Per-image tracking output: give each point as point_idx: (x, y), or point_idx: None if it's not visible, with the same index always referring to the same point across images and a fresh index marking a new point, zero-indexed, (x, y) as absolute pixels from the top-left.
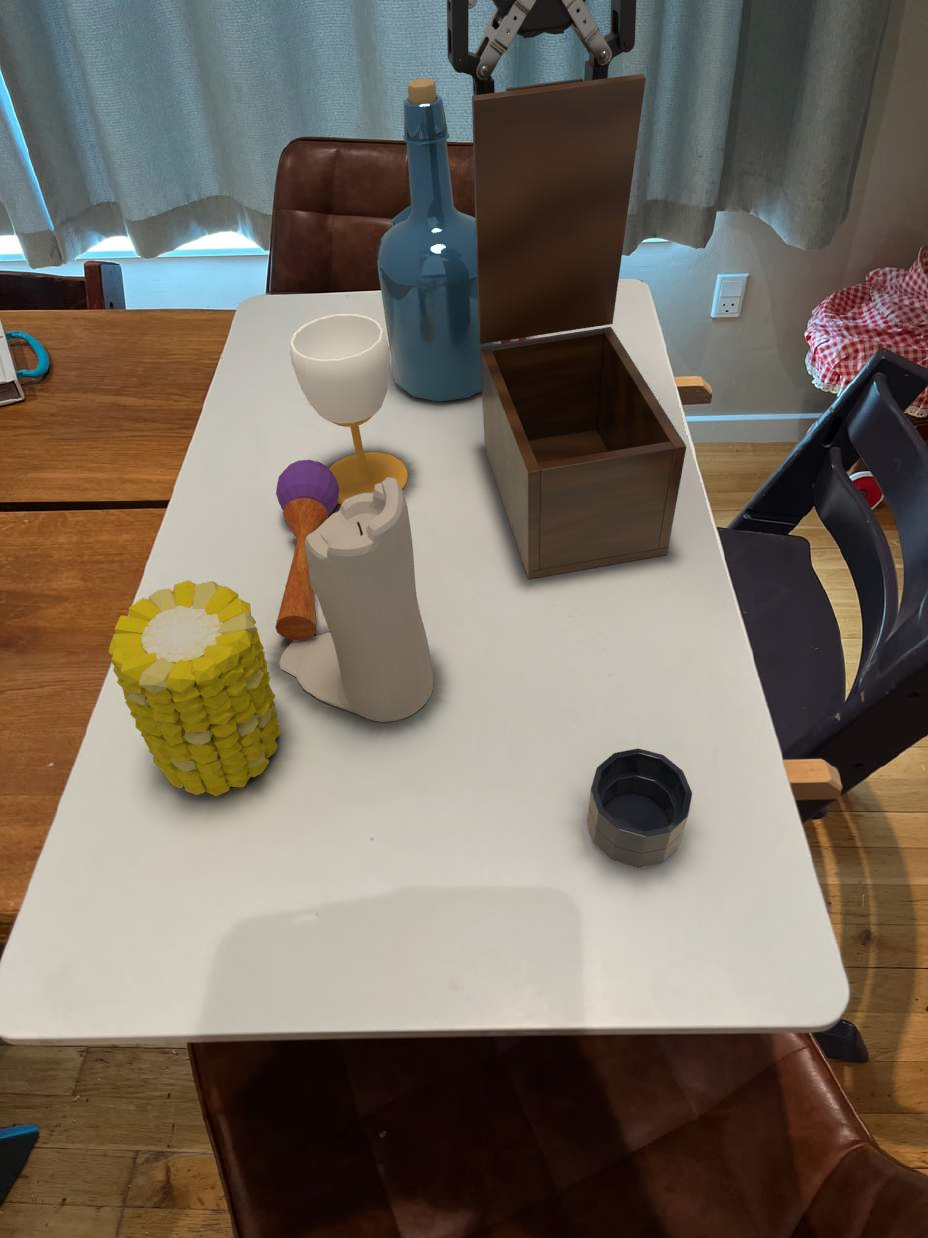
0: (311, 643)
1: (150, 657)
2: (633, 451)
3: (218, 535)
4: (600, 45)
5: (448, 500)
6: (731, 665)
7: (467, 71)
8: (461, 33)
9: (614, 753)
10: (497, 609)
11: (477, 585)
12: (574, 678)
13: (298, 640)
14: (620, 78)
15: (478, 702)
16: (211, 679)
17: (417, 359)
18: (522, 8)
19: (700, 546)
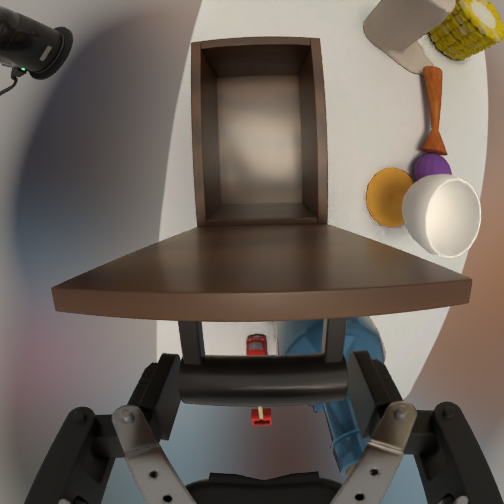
0: (422, 70)
1: (488, 7)
2: (233, 41)
3: (464, 173)
4: (129, 431)
5: (343, 158)
6: (207, 5)
7: (423, 413)
8: (464, 449)
9: None
10: (325, 56)
11: (335, 76)
12: (290, 8)
13: None
14: (96, 305)
15: (341, 10)
16: None
17: None
18: None
19: (188, 79)
